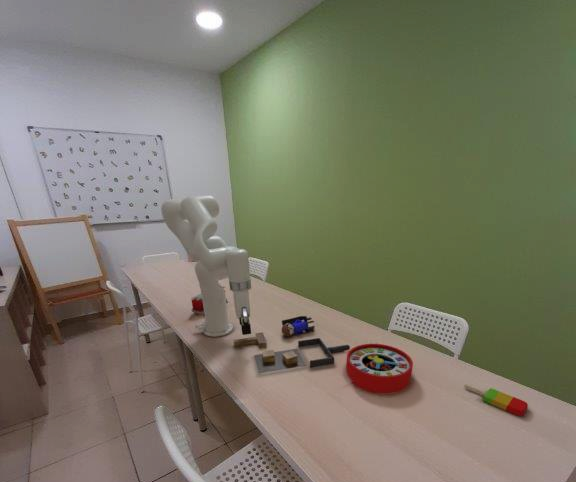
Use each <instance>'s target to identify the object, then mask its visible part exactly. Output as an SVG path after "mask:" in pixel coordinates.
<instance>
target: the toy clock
mask: <svg viewBox="0 0 576 482" xmlns="http://www.w3.org/2000/svg"><path fill="white" fill-rule="evenodd" d="M413 366H414V361H413V359H412V357H410V355H409V354H408V353H406V352H405V351H403V350H402V349H399V348H397V347H394V346H392V345H388V344H387V345H386V344H383V343H382V344H381V343H365V344H364V343H363V344H359V345H356V346H354V347H352V348H350V349H349V350H348V352H347V355H346V363H345V372H346V375H347V376H348V378H349V379H350V380H351V384H352V385H354V386H355V387H356V388H359V389H361V390H363V391H366V392H369V393H373V394H380V395H391V394H397V393H400V392H402V391H404V390H406V389H407V388H408V387H409V386H410V384H411V380H412V379H411V378H412V373H413Z"/></svg>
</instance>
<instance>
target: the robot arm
mask: <svg viewBox="0 0 576 482" xmlns="http://www.w3.org/2000/svg"><path fill="white" fill-rule="evenodd" d="M160 212H161V215H162V216H161V217H162V218H163V221H164V223H165V225H166V226H167V228H168V230H169V231H171V233H173V235H174V236H175V237H176V238H177V239H178V240H179V242H180V244H181V246H182V248H183V249H184V250H185V252H186V253H187V255H188V256H189V258H190V259H191V260H192V262H196V263H195V265H194V272H195V276H196V278H197V281H198V285H199V289H200V294H201V295H202V301H203V307H204V314H203V315H204V321H203V322H198V323H195V324H194V326H195V329H198V330H202V331H203V334H204V335H205V336H208V337H211V338H212V337H213V338H214V337H215V338H217V337H223V336H227V335H228V334H230V333H232V332H233V330H234V326H233V324H232V323H229V322H230V321H229V313H228V303H226V299H227V296H226V290H225V288H223V287H224V286H222V285H221V284H220V283H219V281H222V280H225V279H228V284H229V291H230V292H232V293H233V303H234V312H235V316H236V319H238V321H239V325H240V327H241V334H242V335H243V336H246V335H251V334H252V327H251V323H250V317H251V303H250V293H249V291H250V290H252V280H251V271H250V260H249V253H248V250H246V249H244V248H238V247H236V246H233V245H227V243H226V241H224V239H223V238H222V237H220V236H218V235H215V234H216V232H217V230H218V223H217V222H216V220H215V218H217V216H219V214H220V205H219V202H218V201H217V199H216V198H215V197H214V196H212V195H210V194H209V195H208V194H207V195H206V194H205V195H204V194H203V195H190V196H186V197H178V198H177V197H176V198H169V199H167V200H165V201H164V202H163V203H161V207H160Z"/></svg>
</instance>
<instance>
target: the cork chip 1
mask: <svg viewBox="0 0 576 482" xmlns="http://www.w3.org/2000/svg"><path fill="white" fill-rule="evenodd" d="M274 352H275V350H274V349H269V350H267V349H266V350H262V353H261V354H263V362H264V363H266V362H275V354H274Z"/></svg>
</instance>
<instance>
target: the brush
mask: <svg viewBox="0 0 576 482" xmlns="http://www.w3.org/2000/svg"><path fill="white" fill-rule="evenodd" d="M256 344H257V347H258V349H263V348H268V345H267V344H268V342H267V340H266V338H265V334H264V332H255V336H252V337H251V336H250V337H244V338H243V337H242V338H236V339H233V346H234V348H237V347H241V346H243V347H244V346H248V345H249V346H250V345H256Z"/></svg>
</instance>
